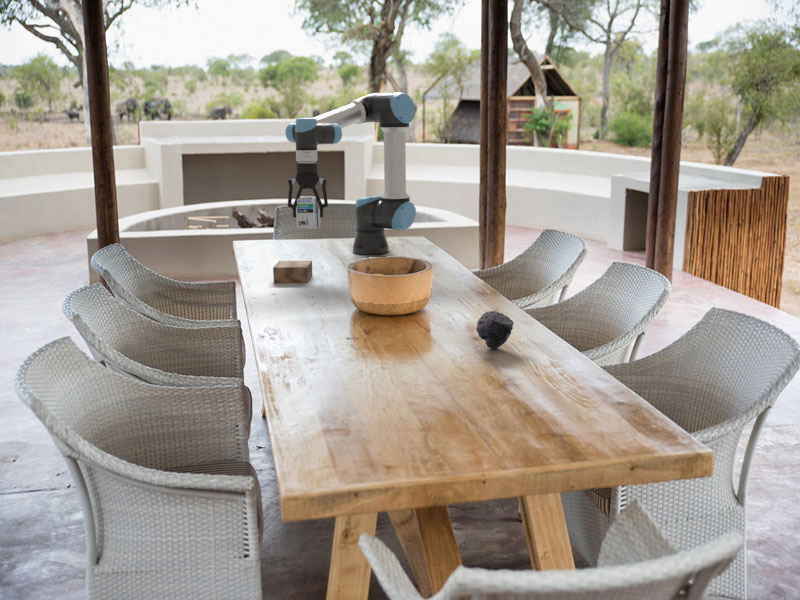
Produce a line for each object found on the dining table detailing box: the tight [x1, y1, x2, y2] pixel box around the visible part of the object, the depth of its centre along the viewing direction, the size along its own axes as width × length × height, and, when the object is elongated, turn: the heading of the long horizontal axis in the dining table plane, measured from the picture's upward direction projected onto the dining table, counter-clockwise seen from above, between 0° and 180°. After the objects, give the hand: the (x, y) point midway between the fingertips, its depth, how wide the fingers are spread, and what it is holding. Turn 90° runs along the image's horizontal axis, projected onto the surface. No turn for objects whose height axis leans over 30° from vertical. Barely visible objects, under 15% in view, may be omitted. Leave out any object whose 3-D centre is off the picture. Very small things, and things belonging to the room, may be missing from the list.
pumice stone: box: [475, 310, 514, 350], centre depth 214 cm, size 10×8×10 cm
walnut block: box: [272, 260, 314, 284], centre depth 298 cm, size 12×12×6 cm
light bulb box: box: [296, 195, 320, 230], centre depth 300 cm, size 11×7×11 cm, turn 179°
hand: (308, 226), depth 301 cm, fingers closed on light bulb box, 7 cm apart
